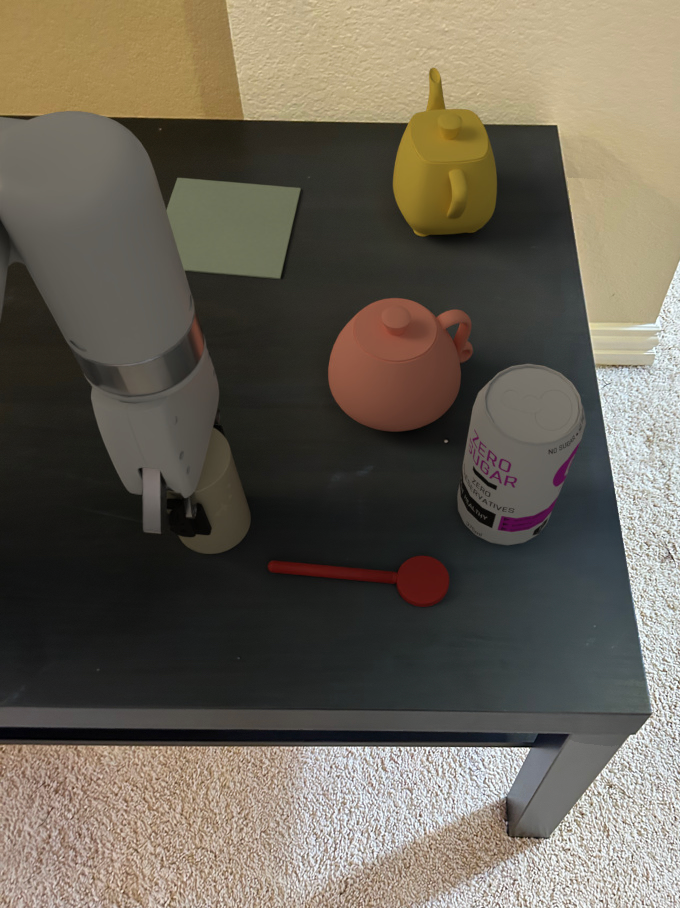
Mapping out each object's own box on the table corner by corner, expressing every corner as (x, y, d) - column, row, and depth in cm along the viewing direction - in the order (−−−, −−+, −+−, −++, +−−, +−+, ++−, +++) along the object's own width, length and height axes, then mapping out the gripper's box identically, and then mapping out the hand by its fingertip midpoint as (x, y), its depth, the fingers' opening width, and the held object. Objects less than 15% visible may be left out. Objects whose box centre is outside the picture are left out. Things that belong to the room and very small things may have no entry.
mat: (147, 267, 79) (146, 266, 78) (178, 179, 85) (177, 177, 85) (280, 279, 78) (280, 277, 78) (300, 189, 85) (300, 187, 85)
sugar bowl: (312, 363, 73) (303, 283, 64) (444, 325, 76) (452, 243, 67) (356, 462, 68) (352, 390, 59) (495, 417, 71) (512, 342, 62)
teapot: (382, 158, 88) (382, 64, 78) (475, 152, 89) (486, 58, 79) (403, 269, 80) (407, 179, 70) (505, 261, 81) (522, 171, 71)
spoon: (264, 592, 62) (262, 587, 61) (273, 545, 64) (271, 540, 63) (446, 609, 62) (447, 605, 61) (450, 561, 64) (451, 556, 63)
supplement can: (558, 483, 68) (601, 375, 55) (535, 561, 64) (575, 465, 51) (472, 457, 69) (493, 345, 56) (444, 532, 65) (461, 431, 52)
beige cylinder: (168, 550, 64) (134, 489, 55) (185, 486, 67) (155, 418, 58) (243, 557, 64) (221, 497, 55) (256, 492, 67) (237, 425, 58)
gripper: (114, 230, 49) (180, 402, 65) (29, 452, 41) (128, 585, 57) (228, 240, 49) (266, 409, 65) (166, 464, 41) (226, 594, 57)
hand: (201, 490), depth 61 cm, fingers closed on beige cylinder, 6 cm apart
